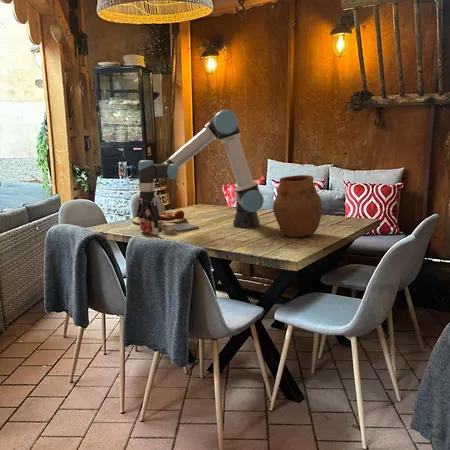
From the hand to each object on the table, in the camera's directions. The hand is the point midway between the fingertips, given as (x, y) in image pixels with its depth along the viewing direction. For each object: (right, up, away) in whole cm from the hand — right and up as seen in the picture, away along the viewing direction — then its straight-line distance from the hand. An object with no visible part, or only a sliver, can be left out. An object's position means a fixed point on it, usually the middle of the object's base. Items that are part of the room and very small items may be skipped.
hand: (148, 232), depth 226 cm
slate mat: (+16, +2, +13) cm, 20 cm away
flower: (0, -1, 0) cm, 1 cm away
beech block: (+10, -1, +1) cm, 10 cm away
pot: (+76, -2, -7) cm, 76 cm away
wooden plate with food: (+1, +5, +35) cm, 35 cm away
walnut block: (+3, +1, +9) cm, 10 cm away
